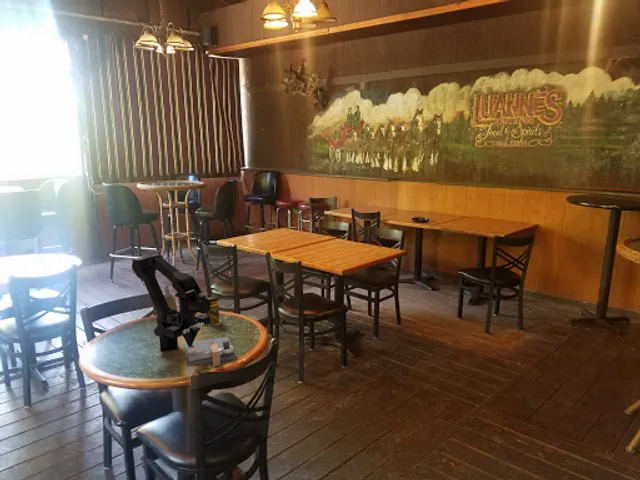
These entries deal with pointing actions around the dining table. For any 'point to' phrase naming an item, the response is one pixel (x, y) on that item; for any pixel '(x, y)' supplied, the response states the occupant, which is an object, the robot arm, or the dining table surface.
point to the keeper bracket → (215, 353)
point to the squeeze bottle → (170, 298)
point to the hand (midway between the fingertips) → (189, 346)
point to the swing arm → (209, 352)
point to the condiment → (213, 311)
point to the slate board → (205, 346)
